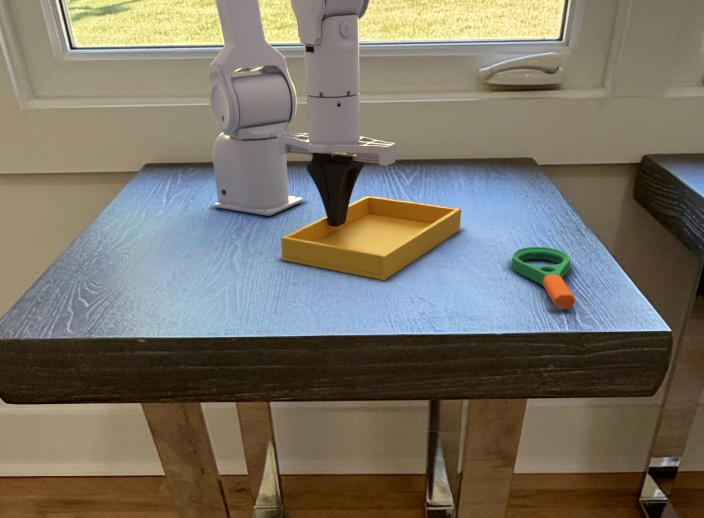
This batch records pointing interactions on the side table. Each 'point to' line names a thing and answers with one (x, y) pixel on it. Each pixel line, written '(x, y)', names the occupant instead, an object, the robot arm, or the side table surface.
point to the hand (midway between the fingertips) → (337, 224)
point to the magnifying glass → (546, 272)
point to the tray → (372, 237)
